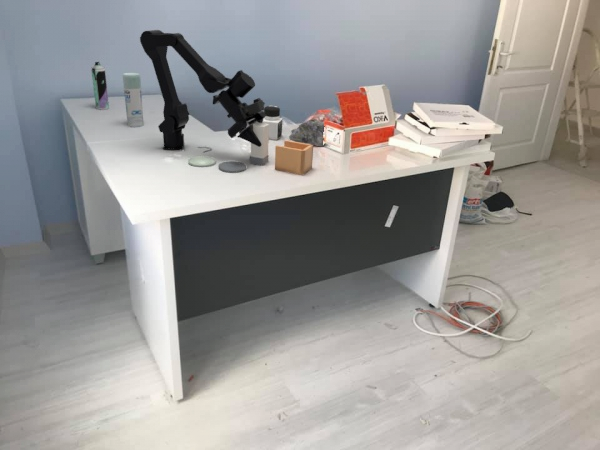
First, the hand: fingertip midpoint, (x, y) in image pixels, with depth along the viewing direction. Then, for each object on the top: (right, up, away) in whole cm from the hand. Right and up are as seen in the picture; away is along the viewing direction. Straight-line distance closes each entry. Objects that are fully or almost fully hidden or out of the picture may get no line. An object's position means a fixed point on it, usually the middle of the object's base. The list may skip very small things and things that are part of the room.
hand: (263, 144), depth 165 cm
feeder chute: (+10, -8, -1) cm, 13 cm away
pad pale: (-20, -6, 0) cm, 21 cm away
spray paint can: (-54, +13, +36) cm, 67 cm away
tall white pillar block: (-2, -6, +3) cm, 7 cm away
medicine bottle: (+1, +8, +32) cm, 33 cm away
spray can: (-76, +25, +58) cm, 99 cm away
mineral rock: (+16, +4, +27) cm, 31 cm away
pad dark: (-10, -8, -3) cm, 13 cm away
